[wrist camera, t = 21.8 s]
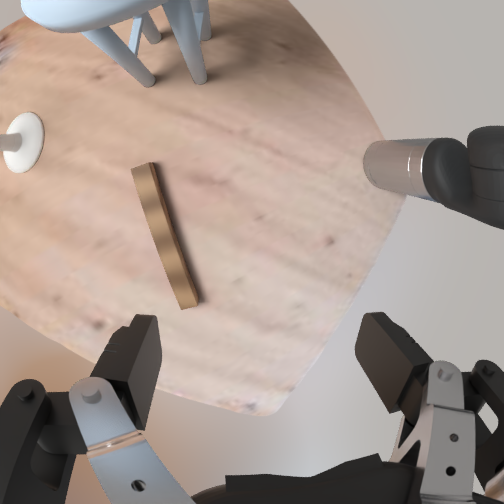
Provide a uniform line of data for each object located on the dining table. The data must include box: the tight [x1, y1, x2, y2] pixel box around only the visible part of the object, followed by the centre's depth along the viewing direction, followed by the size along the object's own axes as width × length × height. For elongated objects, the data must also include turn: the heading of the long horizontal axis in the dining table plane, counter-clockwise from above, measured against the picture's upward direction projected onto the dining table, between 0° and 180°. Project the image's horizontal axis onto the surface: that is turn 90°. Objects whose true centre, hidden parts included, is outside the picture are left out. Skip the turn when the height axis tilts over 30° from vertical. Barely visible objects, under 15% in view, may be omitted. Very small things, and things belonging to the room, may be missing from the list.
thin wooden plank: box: [131, 163, 199, 310], centre depth 46 cm, size 26×3×3 cm, turn 15°
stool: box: [21, 0, 212, 87], centre depth 22 cm, size 18×18×32 cm
